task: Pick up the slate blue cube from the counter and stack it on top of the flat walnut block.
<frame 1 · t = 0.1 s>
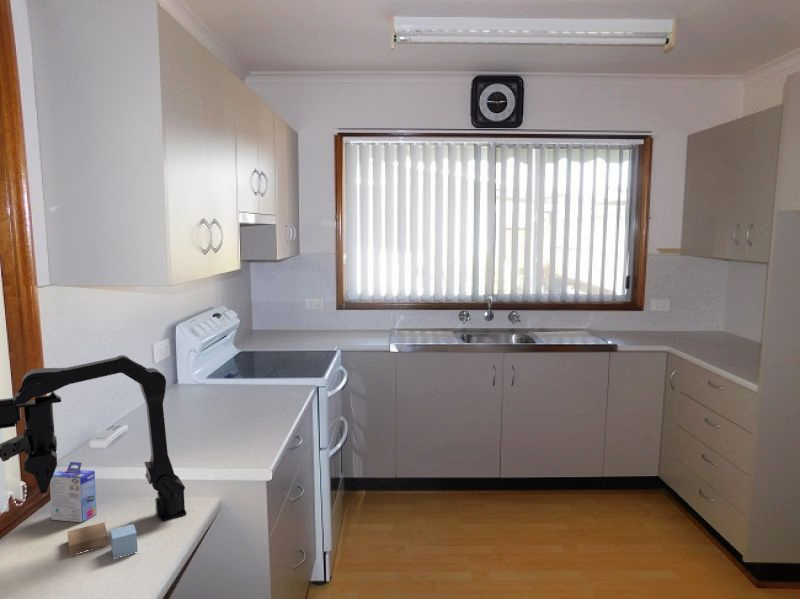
hand: (43, 486, 131), 15 cm above the counter, tool pointing down, fingers open, 9 cm apart
ink cartridge box: (75, 517, 147), on the counter
slate cube: (124, 551, 129), on the counter
walnut block: (88, 545, 133), on the counter
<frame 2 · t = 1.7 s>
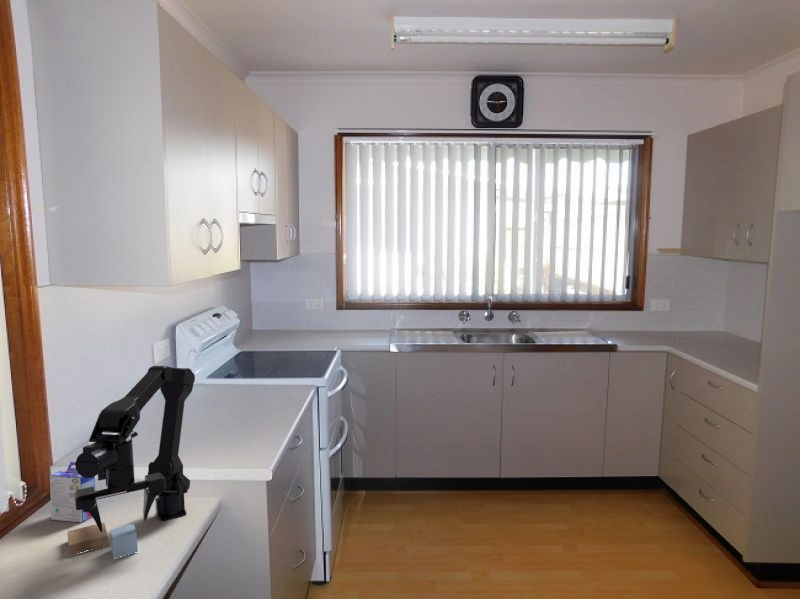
hand: (123, 525, 129), 6 cm above the counter, tool pointing down, fingers open, 9 cm apart
nothing on the counter moved.
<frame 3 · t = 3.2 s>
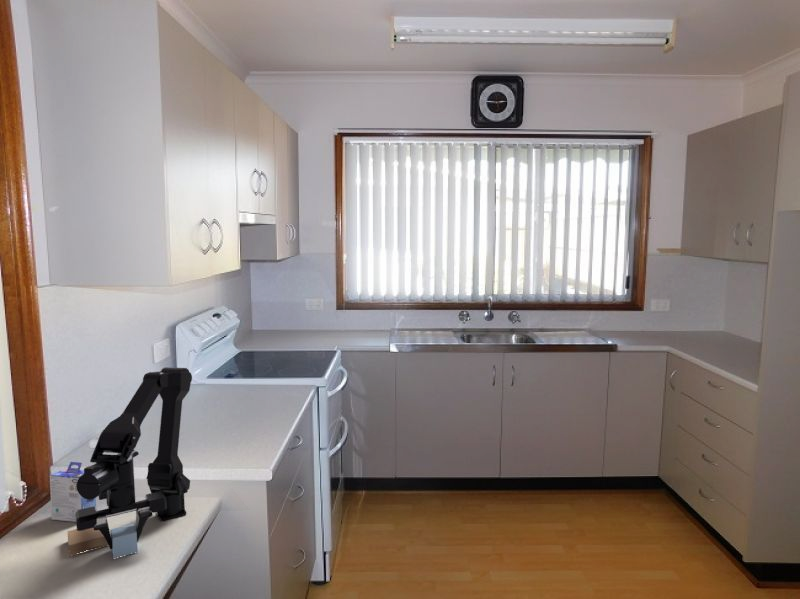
hand: (124, 545, 129), 2 cm above the counter, tool pointing down, fingers closed on slate cube, 5 cm apart
slate cube: (124, 551, 129), on the counter, touching gripper
everything else where it was.
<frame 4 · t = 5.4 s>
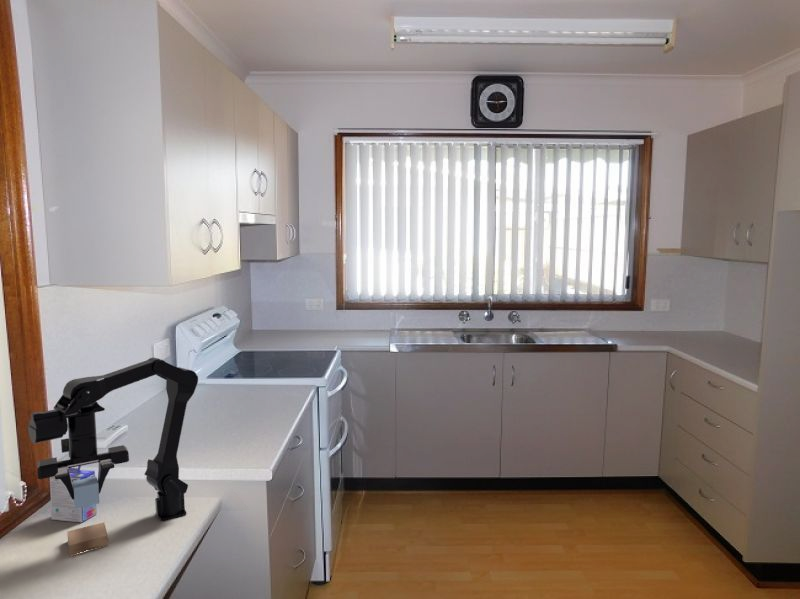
hand: (86, 495, 132), 12 cm above the counter, tool pointing down, fingers closed on slate cube, 5 cm apart
slate cube: (86, 502, 132), point 11 cm above the counter, touching gripper
everything else where it was.
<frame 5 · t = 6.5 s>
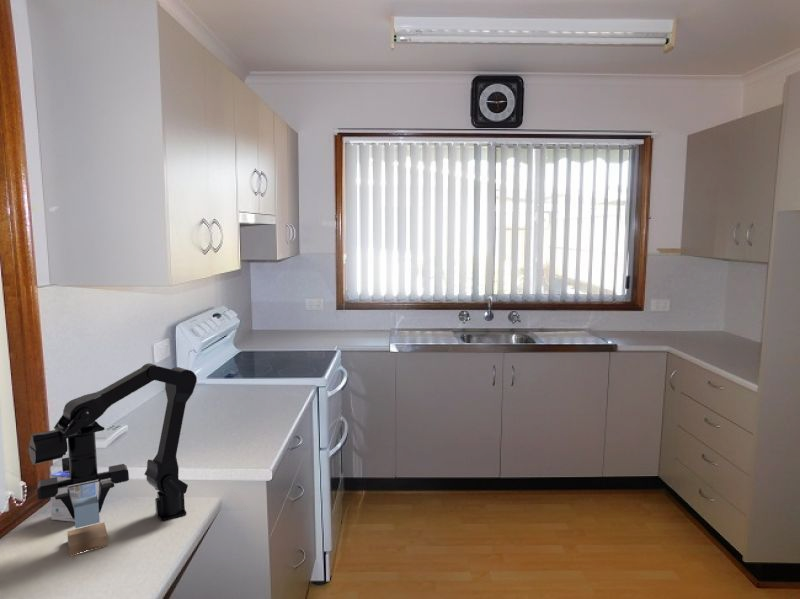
hand: (86, 515, 132), 7 cm above the counter, tool pointing down, fingers closed on slate cube, 5 cm apart
slate cube: (87, 521, 132), point 6 cm above the counter, touching gripper
everything else where it was.
when the fingers open (6 cm above the counter, at t = 7.6 s): slate cube drops 2 cm, resting on walnut block.
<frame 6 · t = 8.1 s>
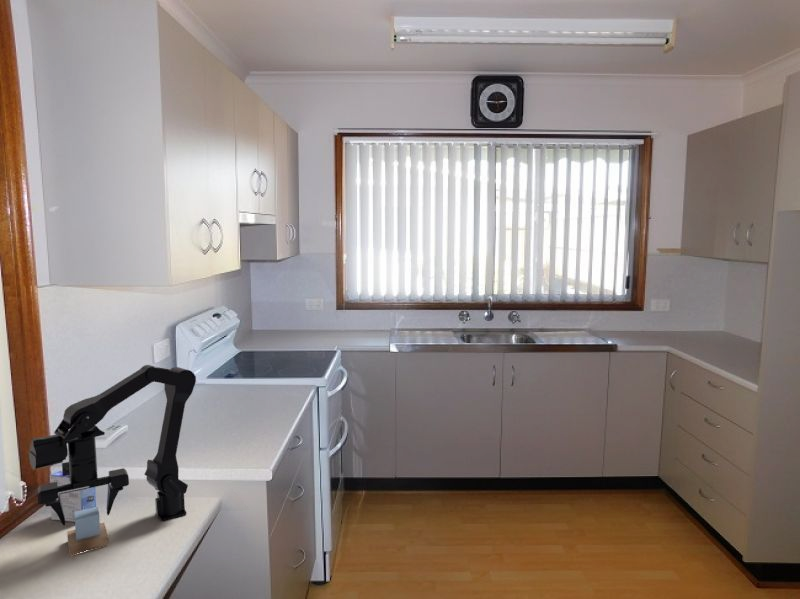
hand: (86, 519, 132), 6 cm above the counter, tool pointing down, fingers open, 9 cm apart
slate cube: (87, 533, 133), point 3 cm above the counter, touching walnut block
walnut block: (88, 545, 133), on the counter, touching slate cube
everything else where it was.
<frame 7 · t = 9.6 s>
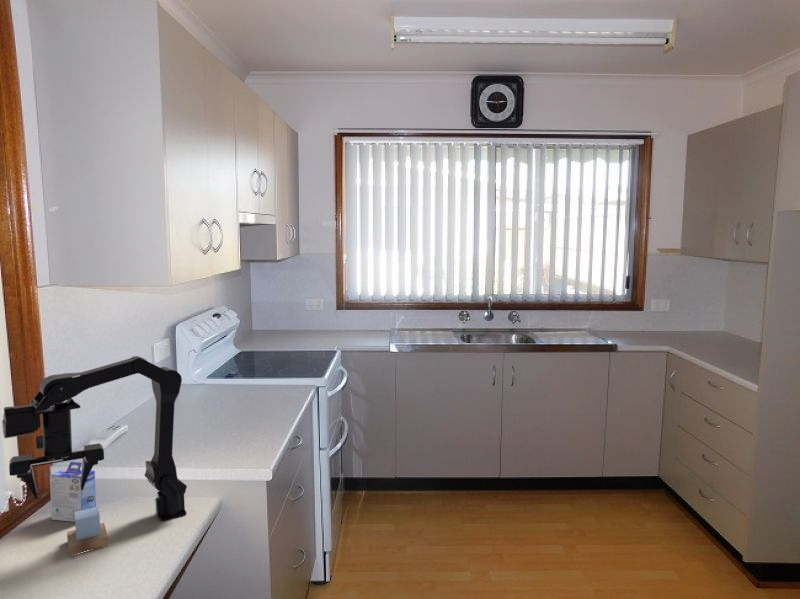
hand: (59, 493, 130), 13 cm above the counter, tool pointing down, fingers open, 9 cm apart
nothing on the counter moved.
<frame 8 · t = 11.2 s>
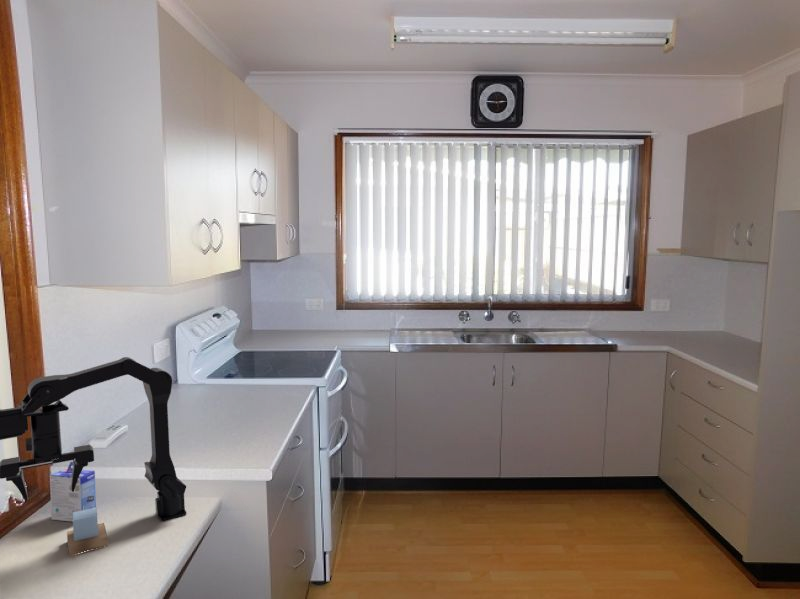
hand: (50, 495, 130), 13 cm above the counter, tool pointing down, fingers open, 9 cm apart
slate cube: (86, 533, 132), point 3 cm above the counter
walnut block: (87, 545, 133), on the counter
everything else where it was.
at the end: slate cube 0.2 cm off-centre on the walnut block, point 3.0 cm above the walnut block's base; slate cube tilted 0°; the gripper is holding nothing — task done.
